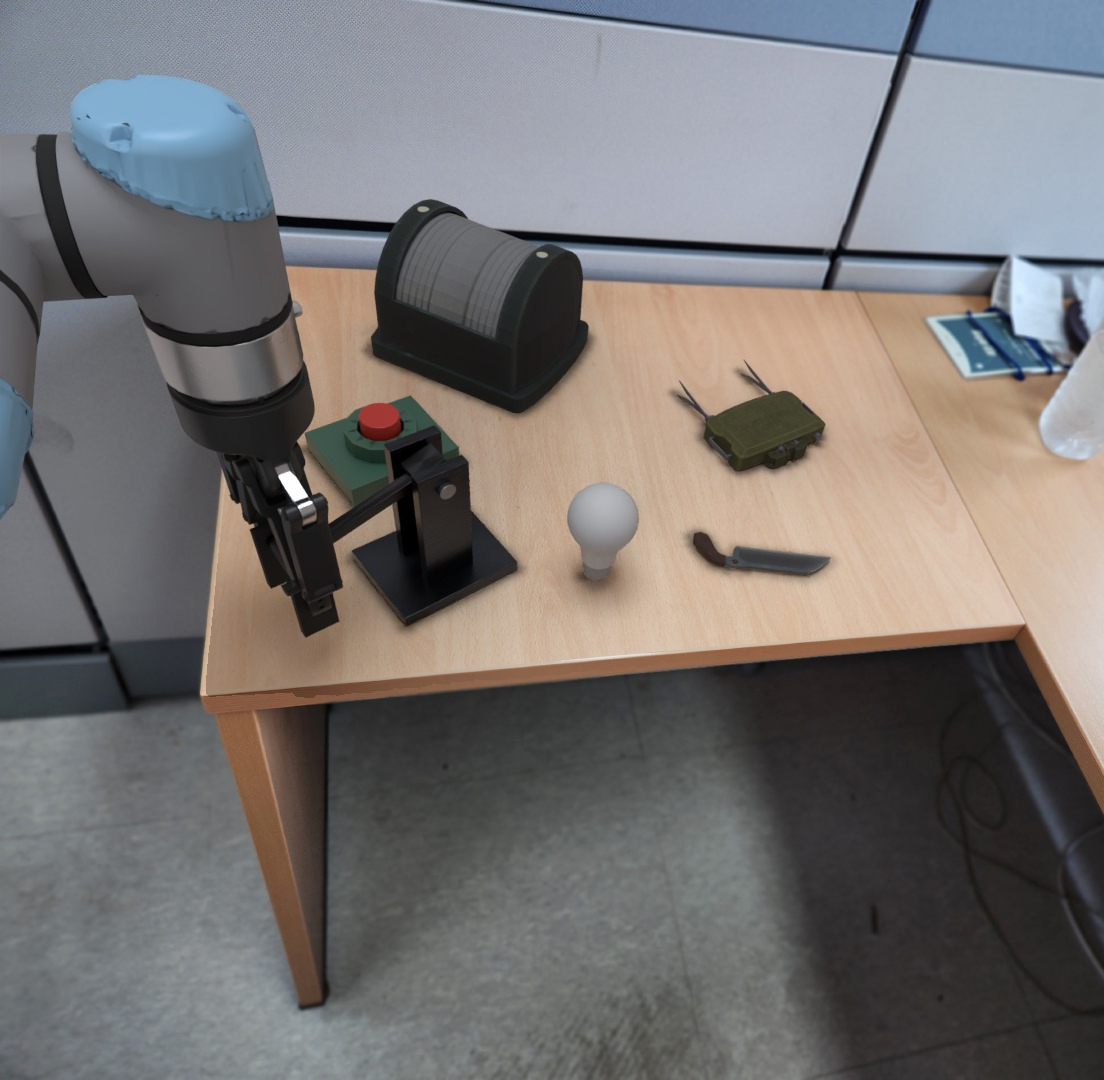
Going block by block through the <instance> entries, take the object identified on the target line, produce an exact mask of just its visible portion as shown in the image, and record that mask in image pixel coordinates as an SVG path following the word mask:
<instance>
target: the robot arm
mask: <svg viewBox="0 0 1104 1080" xmlns="http://www.w3.org/2000/svg"><path fill="white" fill-rule="evenodd" d="M69 119H70V122H71V128H70V131H59V133H57V134H56V133H55V134H54V133H50V134H49V133H46V134H45V133H11V132H10V133H7V132H5V133H4V132H3V133H1V132H0V521H1V520H2V519H3V518H4V517H5V515H6V514H7V513H8V512H9V511H10V509H11V508H12V507H14V505H15V503H16V500H17V497H18V492H19V487H20V481H21V477H22V472H23V467H24V461H25V456H26V454H27V453H28V451H29V449H30V447H31V446H32V443H33V440H34V437H35V428H34V411H33V408H34V396H35V395H34V394H35V382H36V380H35V379H36V371H37V369H36V368H37V354H38V344H39V340H40V335H41V330H42V319H43V310H44V303H47V302H62V301H64V302H65V301H77V300H79V301H80V300H93V299H94V300H95V299H107V298H108V297H121V296H133V298H134V300H135V302H136V304H137V307H138V311H139V316H140V320H141V323H142V326H143V328H144V331H145V334H146V337H147V339H148V341H149V344H150V347H151V350H152V353H153V356H154V358H155V360H156V363H157V365H158V368H159V371H160V373H161V376H162V378H163V379H164V381H165V382H166V387H167V390H168V393H169V395H170V399H171V401H172V404H173V406H174V410H175V412H176V416H177V418H178V421H179V423H180V426H181V428H182V430H183V431H184V433H185V434H186V435H187V437H188V438H190V439H191V440H192V441H193V442H194V443H196V444H197V445H198V446H200V447H203V448H205V449H207V450H209V451H213V452H216V455H217V458H218V461H219V464H220V468H221V470H222V473H223V476H224V479H225V482H226V485H227V488H228V492H229V498H230V500H231V501H233V502H234V503H235V504H236V505H239V504H240V508H241V515H242V518H243V520H244V522H246V523H247V524H248V525H249V526H251V525H253V527H251V528H249V532H250V535H251V539H252V541H253V545H254V548H255V551H256V554H257V557H258V560H259V563H260V566H261V569H262V571H263V575H264V579H265V582H266V584H267V585H268V587H269V589H270V590H272V589H275V588H278V587H279V586H280V587H281V590H282V591H283V593H284V594H285V596H286V597H287V598H289V597H290V600H291V602H292V606H293V609H294V612H295V615H296V616H295V617H296V620H297V623H298V626H299V629H300V632H301V633H302V635H303V636H304V638H306V639H307V638H308V637H310V636H313V635H314V634H317V633H319V632H321V631H323V630H325V629H328V628H329V627H331V626H333V625H336V624H337V623H339V622H340V617H339V614H338V610H337V605H336V601H335V596H334V593H335V592H337V591H340V590H341V589H343V588H344V584H343V583H344V581H343V579H342V575H341V570H340V567H339V566H340V565H339V563H338V557H337V553H336V548H335V543H334V544H333V540H332V535H331V531H330V526H329V523H330V522H329V501H328V499H327V498H326V496H325V495H324V494H323V493H322V492H320V491H319V492H317V493H313V492H312V489H311V486H310V482H309V480H308V478H307V474H306V472H305V466H306V458H305V455H304V453H303V450H302V448H301V445H300V444H299V442H298V441H299V439H300V438H301V437H302V436H303V434H304V433H305V432H307V430H308V429H309V427H310V425H311V424H312V422H313V419H314V417H315V412H316V411H315V410H316V407H315V406H316V405H315V399H314V394H313V390H312V385H311V380H310V376H309V371H308V367H307V364H306V363H305V360H304V350H303V346H302V341H301V337H300V331H299V329H298V325H297V319H296V318H299V317H300V316H303V313H304V312H303V306H302V305H301V304H300V302H299V301H297V300H293V298H292V292H291V288H290V287H291V286H290V281H289V276H288V271H287V267H286V259H285V255H284V251H283V245H282V239H281V235H280V229H279V224H278V223H279V222H278V218H277V212H276V207H275V202H274V197H273V193H272V189H271V184H270V181H269V179H268V175H267V171H266V168H265V163H264V159H263V156H262V153H261V149H260V148H261V147H260V145H259V141H258V138H257V134H256V130H255V127H254V125H253V123H252V121H251V119H250V118H249V116H248V114H247V113H246V111H245V110H244V108H243V107H242V106H241V105H240V104H239V103H238V102H236V101H235V100H234V99H233V98H232V97H230V96H229V95H227V93H224V92H222V91H221V90H219V89H217V88H214V87H212V86H210V85H208V84H205V83H203V82H199V81H197V80H194V79H188V78H183V77H178V76H170V75H162V74H135V75H134V76H133V77H132V78H128V79H127V78H126V79H116V78H108V79H104V80H101V81H98V82H96V83H92V84H91V85H89V86H87V87H85V88H83V89H82V90H81V91H79V93H78V94H76V95H75V97H74V98H73V100H72V101H71V103H70V108H69ZM272 533H273V535H274V537H275V540H276V542H277V545H278V548H279V550H280V553H281V555H282V558H283V561H284V563H285V566H286V568H287V571H288V573H287V572H286V570H285V569H284V568H283V566H282V565H281V563H280V562H279V561H278V559H277V558H276V557H275V555H274V554H273V552H272V551H271V550H270V548H269V547H268V545H267V544H266V540H267V538H268V537H269V536H270V535H271V534H272ZM288 574H289V575H288Z"/></svg>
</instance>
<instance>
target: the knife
mask: <svg viewBox="0 0 1104 1080" xmlns="http://www.w3.org/2000/svg"><path fill="white" fill-rule="evenodd" d="M692 543H693V545H694V546H695V548H696V549H697V550H698V551H699V553H700V554H701V555H702V556H703V557H704V559H706V560H707V561H709V562H710V563H711V564H713V565H715V566H718V567H721V568H722V567H723V568H725V567H726V568H730V569H734V570H743V569H745V570H746V569H747V570H748V569H749V570H760V571H767V572H775V573H785V574H793V575H802V576H807V575H810V574H812V573H815V572H817V571H818V570H820V569H821V568H822V567H824V566H825V565H827V564H828V563H829V562H830V560H832V559H831V558H832V557H831V556H825V555H823V556H822V555H816V554H807V553H798V552H791V551H782V550H774V549H765V548H756V547H750V546H749V547H747V546H740V545H736V546H734V548H733V551H732V555H725V554H722V553H721V552H719V551H718V549H716V547H715V545H714V543H713V541H712V539H711V538H710V536H709V534H708V533H705V532H702V531H698V532H694V533H693V535H692ZM734 563H736V564H734Z"/></svg>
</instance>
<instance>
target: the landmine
mask: <svg viewBox="0 0 1104 1080" xmlns="http://www.w3.org/2000/svg"><path fill="white" fill-rule="evenodd" d="M743 362H744V364H745V365H746V367H747V369H748V371H749V372H750V373H751V375H752V376H753V377H752V376H750V375H747V374H744V373H740V374H741V375H742V376H743V377H745V378H746V379H747V380H749V381H750V382H752V383H753V384H754V385H756V386H757V387H759V388H760V389H761V390H763V391H764V392H766V393H767V394H764V395H761V396H758V397H755V398H753V399H750V400H747V401H743V402H741V403H739V404H736V405H733V406H732V407H730V408H727V409H724V410H723V411H721V412H719V413H717V414H715V415H714V414H712V415H711V414H710V415H708V413H706V412H705V411H704V409H703V408H702V406H700V404H699V403H698V402H697V400H696V399H695V398H694V396H692V394H691V393H690V391H689V390H688V389H687V387H686V386H685V385H684V383H683V382H682V381H681V380H678V382H679V384H680V385H681V387H682V389H683V391H684V393H685V394H686V395H687V397H688V398H689V399H688V398H687V397H685V396H683V395H680V394H677V396H678V397H679V398H680V399H681V400H682V401H684V402H685V403H687V404H688V405H689V406H690V407H692V408H693V409H694V410H695V411H697V412H698V413H699V414H700V415H701V416H703V417H704V421H705V422H706V425H705V427H704V432H703V437H704V439H705V440H706V441H707V442H708V444H709V445H710V446H711V447H712V448H713V449H714V450H715V451H716V452H717V453H718V454H719V455H720V456H721V457H722V458H723V459H724V460H725V461H728V463H729V464H730V465H731V467H733V469H734V470H735V471H738V472H739V471H744V470H747V469H749V468H752V467H755V466H757V465H760V464H762V463H763V465H765V466H766V467H767V468H770V469H776V468H779V467H782V466H783V465H785V466H786V465H787V464H788V462H789V460H791V462H795V460H798V459H800V458H802V457H804V456H805V454H806V451H807V448H808V444H810V443H813V442H814V441H819V440H820V439H821V438H822V435H823V433H824V430H825V427H826V422H825V421H824V420H822V418H821V417H820V416H819V415H818V414H817V413H816V412H815V411H814V410H812V409H811V408H810V407H809V405H807V404H806V403H805V402H804V401H803V400H802V399H800V398H799V397H798V396H797V395H796V394H794V393H793V392H792V391H789V390H780V391H776V392H775V391H772V390H771V389H770V388H769V387H768V386H767V385H766V384H765V382H764V381H763V380H762V378H760V376H759V375H758V374H757V373H756V372H755V371H754V369H753V368H752V367H751V365H749V363H748V362H747V361H746V360H745V359H743Z"/></svg>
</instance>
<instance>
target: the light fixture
mask: <svg viewBox="0 0 1104 1080" xmlns="http://www.w3.org/2000/svg"><path fill="white" fill-rule="evenodd" d="M399 217H400V218H399V219H397V221H396V222H395V223H394V226H393V227H392V228H391V231H390V232H389V234H388V235H387V238H386V239H385V240H386V241H385V243H384V245H383V247H382V250H381V252H380V256H379V260H378V263H377V266H376V271H375V272H376V273H375V278H374V289H373V290H374V291H373V294H374V295H373V296H374V303H375V304H374V305H375V312H376V313H375V314H376V319H377V320H376V321H377V328H376V329H375V330H374V331H373V333H372V334H371V335H370V342H371V349H372V350H371V351H372V355H373V356H374V357H376V358H378V359H380V360H383V361H386V362H388V363H390V364H393V365H395V366H398V367H401V368H403V369H405V370H408V371H410V372H412V373H415V374H417V375H419V376H422V377H425V378H428V379H430V380H432V381H435V382H437V383H439V384H442V385H444V386H447V387H449V388H451V389H454V390H457V391H459V392H461V393H464V394H467V395H469V396H471V397H474V398H477V399H479V400H481V401H484V402H485V403H489V404H492V405H494V406H497V407H499V408H501V409H503V410H506V411H509V412H512V413H516V414H520V413H523V412H525V411H526V410H528V409H529V408H531V407H532V406H534V405H535V404H536V403H538V401H540V400H541V399H542V398H543V397H544V396H546V395H547V394H548V393H549V392H550V391H551V390H552V389H553V388H554V387H555V386H556V384H558V382H559V381H561V379H562V378H564V376H565V375H566V373H567V372H568V371H569V370H570V369H571V367H572V366H573V365H574V364H575V362H576V361H577V360H578V358H579V357H580V355H581V354H582V352H583V350H584V349H585V346H586V345H587V342H588V339H589V338H588V337H589V327H590V326H589V323H588V322H586V321H584V320H583V319H581V318H582V317H581V316H582V300H583V288H584V287H583V286H584V272H583V271H584V270H583V267H582V263H581V260H580V258H579V256H578V255H577V254H576V253H575V252H573V251H572V250H569V249H567V248H564V247H562V246H558V245H556V244H551V243H546V244H543V245H540V246H539V245H537V244H534V243H531V242H529V241H526V240H524V239H521V238H519V237H516V236H513V235H510V234H508V233H506V232H503V231H500V230H497V229H495V228H492V227H489V226H488V225H484V224H482V223H479V222H476V221H474V220H472V219H469V217H468V216H467V215H466V214H465V212H464V211H462V209H459V207H456V206H454V205H451V204H448V203H446V202H443V201H441V200H437V199H432V198H429V199H422V200H420V201H418V202H416V203H413V204H412V206H410V207H409V208H408V209H407V210H406V211H404V212H403V213H402V215H401V216H399Z"/></svg>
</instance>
